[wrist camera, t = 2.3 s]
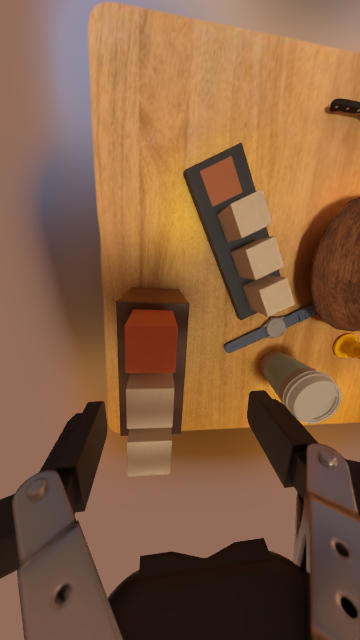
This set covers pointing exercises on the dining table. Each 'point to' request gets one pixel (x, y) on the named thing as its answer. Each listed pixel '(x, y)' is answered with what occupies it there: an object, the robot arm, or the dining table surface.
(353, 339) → the candle
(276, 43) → the dining table surface
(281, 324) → the wristwatch
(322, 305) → the bowl
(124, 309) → the stand
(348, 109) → the knife
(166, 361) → the red-brown rectangular block
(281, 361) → the coffee cup
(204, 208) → the far board
